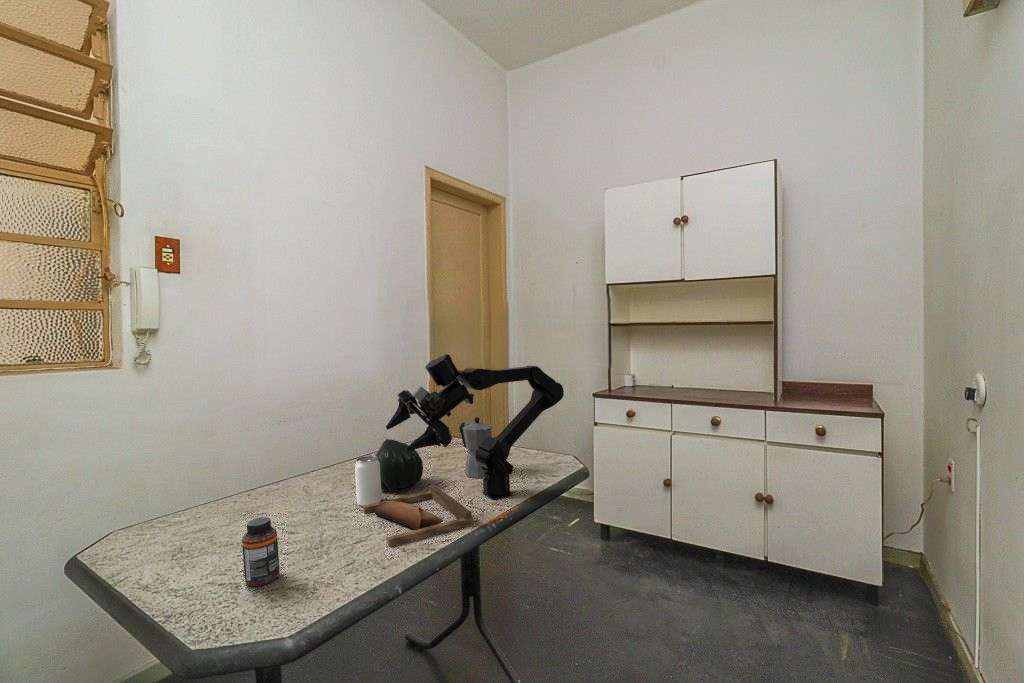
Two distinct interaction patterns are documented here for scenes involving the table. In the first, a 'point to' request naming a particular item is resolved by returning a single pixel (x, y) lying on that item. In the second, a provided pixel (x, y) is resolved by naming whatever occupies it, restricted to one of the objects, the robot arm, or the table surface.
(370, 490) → the can
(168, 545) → the table surface
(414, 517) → the sunglasses case
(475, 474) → the coffeepot
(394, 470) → the squash
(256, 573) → the supplement bottle
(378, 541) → the table surface
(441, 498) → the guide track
